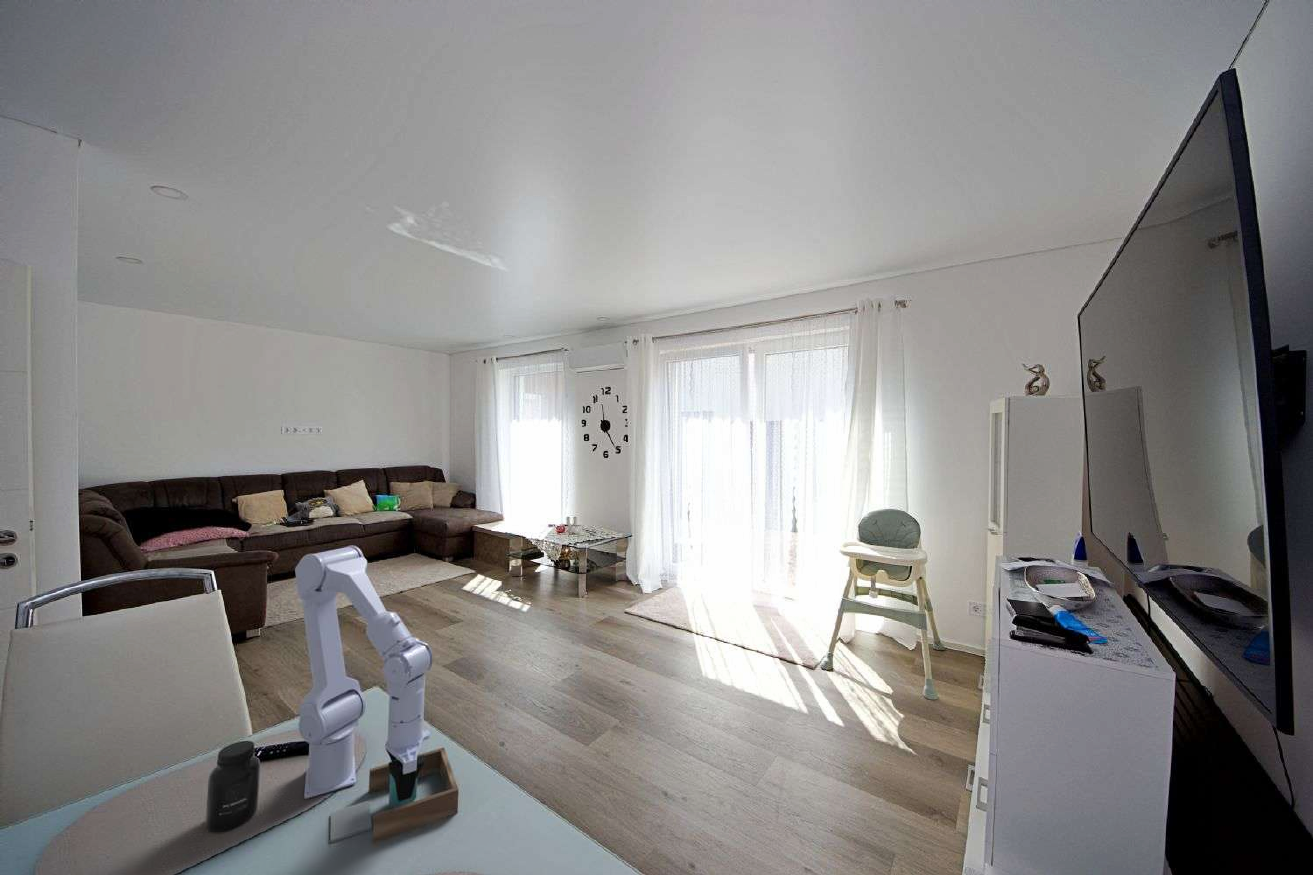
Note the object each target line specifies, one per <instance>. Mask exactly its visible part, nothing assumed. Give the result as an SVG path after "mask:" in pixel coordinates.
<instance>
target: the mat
mask: <svg viewBox="0 0 1313 875" xmlns="http://www.w3.org/2000/svg"><path fill="white" fill-rule="evenodd" d="M370 806H371V804H370V800H367V801H364V802H359V803H357V804H355V805H351V806H348V807H344V808H341V809H339V810H336V811H332V812H330V839H329V840H330V841H329V843H330V844H333V843H335V842H338V841H341V840H343V839H346V838H350V837H352V836H354V835H358V834H360V833H363V832H364V833H365V832H366V831H369V830H372V826H373V825H372V817H371V816H372V814H371V807H370Z"/></svg>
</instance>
